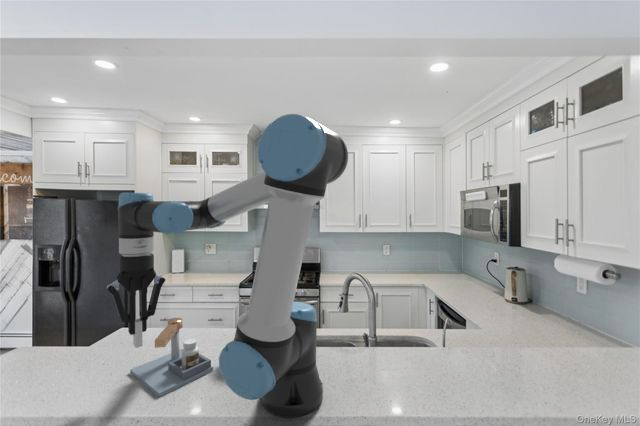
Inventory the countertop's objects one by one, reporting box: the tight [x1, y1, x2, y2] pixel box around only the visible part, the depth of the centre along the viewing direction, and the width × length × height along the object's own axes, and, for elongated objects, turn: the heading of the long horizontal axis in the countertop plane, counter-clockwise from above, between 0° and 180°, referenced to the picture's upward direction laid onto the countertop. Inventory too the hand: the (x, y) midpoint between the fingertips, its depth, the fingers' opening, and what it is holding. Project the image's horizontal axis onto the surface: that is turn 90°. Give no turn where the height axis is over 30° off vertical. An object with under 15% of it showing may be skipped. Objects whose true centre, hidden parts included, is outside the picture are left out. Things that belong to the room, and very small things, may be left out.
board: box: [130, 329, 214, 398], centre depth 85 cm, size 17×15×10 cm
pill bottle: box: [182, 338, 200, 370], centre depth 85 cm, size 4×4×8 cm
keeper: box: [154, 317, 183, 349], centre depth 85 cm, size 14×4×2 cm, turn 8°
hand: (137, 345), depth 77 cm, fingers closed
